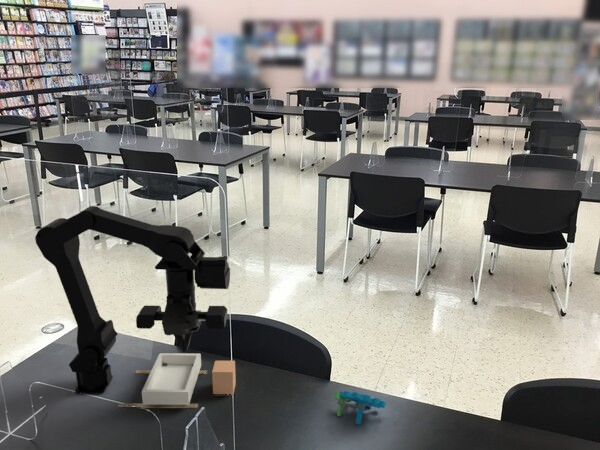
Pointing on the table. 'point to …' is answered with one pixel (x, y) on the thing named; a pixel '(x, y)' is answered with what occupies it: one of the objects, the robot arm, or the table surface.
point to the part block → (224, 377)
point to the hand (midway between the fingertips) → (185, 351)
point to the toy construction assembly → (357, 402)
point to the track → (159, 405)
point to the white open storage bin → (172, 379)
